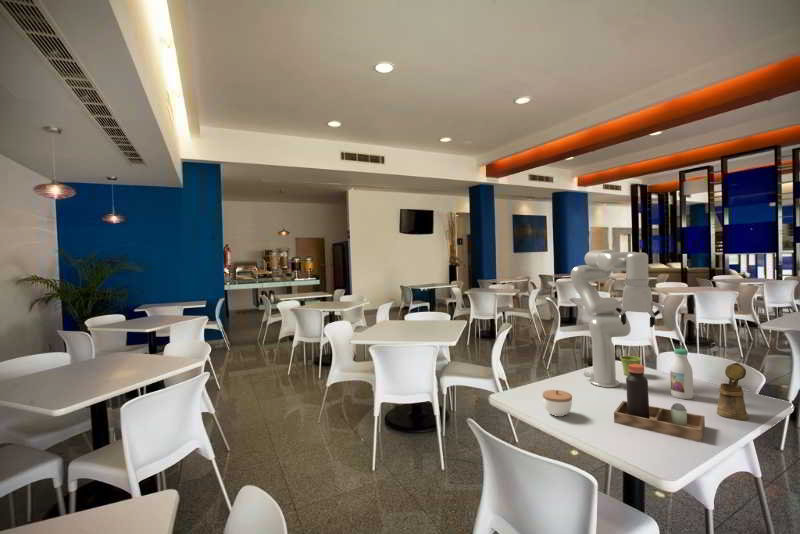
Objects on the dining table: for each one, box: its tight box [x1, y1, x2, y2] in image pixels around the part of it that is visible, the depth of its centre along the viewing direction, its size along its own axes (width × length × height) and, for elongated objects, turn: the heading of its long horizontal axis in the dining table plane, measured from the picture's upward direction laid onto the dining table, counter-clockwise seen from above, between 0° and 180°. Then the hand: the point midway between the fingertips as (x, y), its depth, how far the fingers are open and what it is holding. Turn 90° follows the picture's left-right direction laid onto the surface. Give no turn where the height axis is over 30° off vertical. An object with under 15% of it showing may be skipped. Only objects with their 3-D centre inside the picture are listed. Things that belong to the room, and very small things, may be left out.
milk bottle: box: [669, 348, 694, 400], centre depth 164 cm, size 8×8×20 cm
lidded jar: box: [542, 389, 573, 417], centre depth 151 cm, size 11×11×9 cm
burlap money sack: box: [716, 362, 749, 421], centre depth 145 cm, size 9×14×18 cm, turn 127°
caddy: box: [613, 400, 706, 443], centre depth 137 cm, size 25×14×4 cm, turn 48°
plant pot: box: [619, 355, 642, 377], centre depth 195 cm, size 9×9×9 cm
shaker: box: [670, 402, 688, 427], centre depth 133 cm, size 4×4×9 cm
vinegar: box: [625, 364, 650, 419], centre depth 141 cm, size 7×7×20 cm
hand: (637, 325), depth 156 cm, fingers open, 9 cm apart
